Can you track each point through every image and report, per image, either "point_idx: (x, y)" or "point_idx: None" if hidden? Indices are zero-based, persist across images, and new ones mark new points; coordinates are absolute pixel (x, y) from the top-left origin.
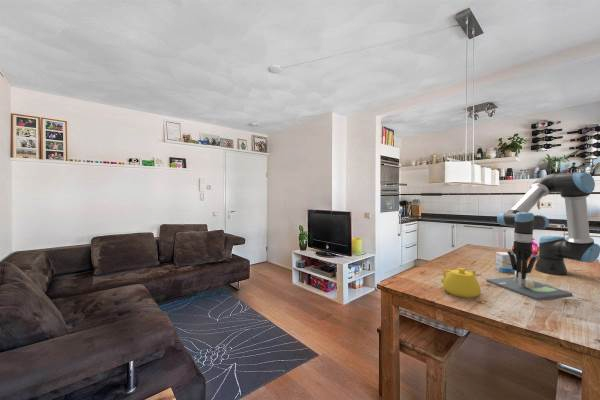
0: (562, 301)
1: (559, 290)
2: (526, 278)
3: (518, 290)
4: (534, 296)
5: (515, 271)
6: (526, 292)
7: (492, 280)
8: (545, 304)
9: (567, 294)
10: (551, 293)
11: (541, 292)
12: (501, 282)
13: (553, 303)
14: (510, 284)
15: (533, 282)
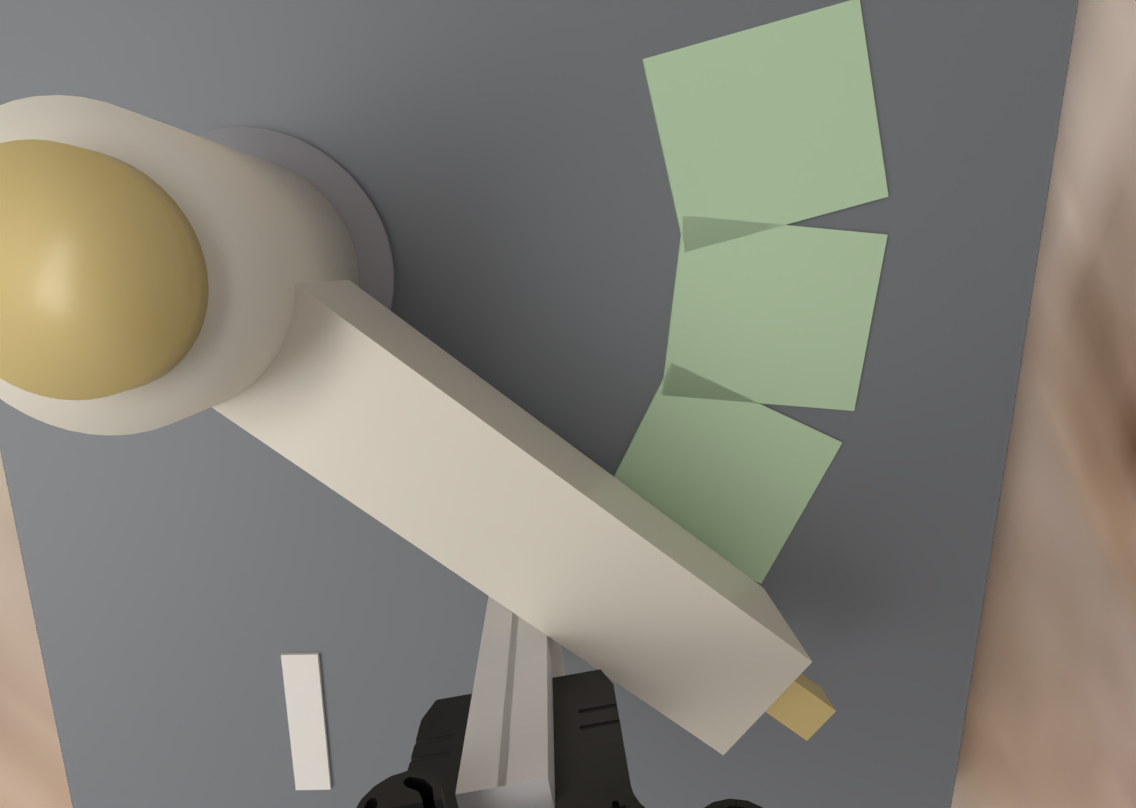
0: (1103, 454)
1: (898, 8)
2: (525, 526)
3: (654, 786)
4: (905, 785)
5: (44, 412)
6: (756, 748)
7: (141, 771)
8: (1053, 794)
9: (1056, 76)
10: (933, 380)
11: (838, 507)
12: (266, 712)
13: (1082, 662)
14: (387, 651)
15: (791, 656)
